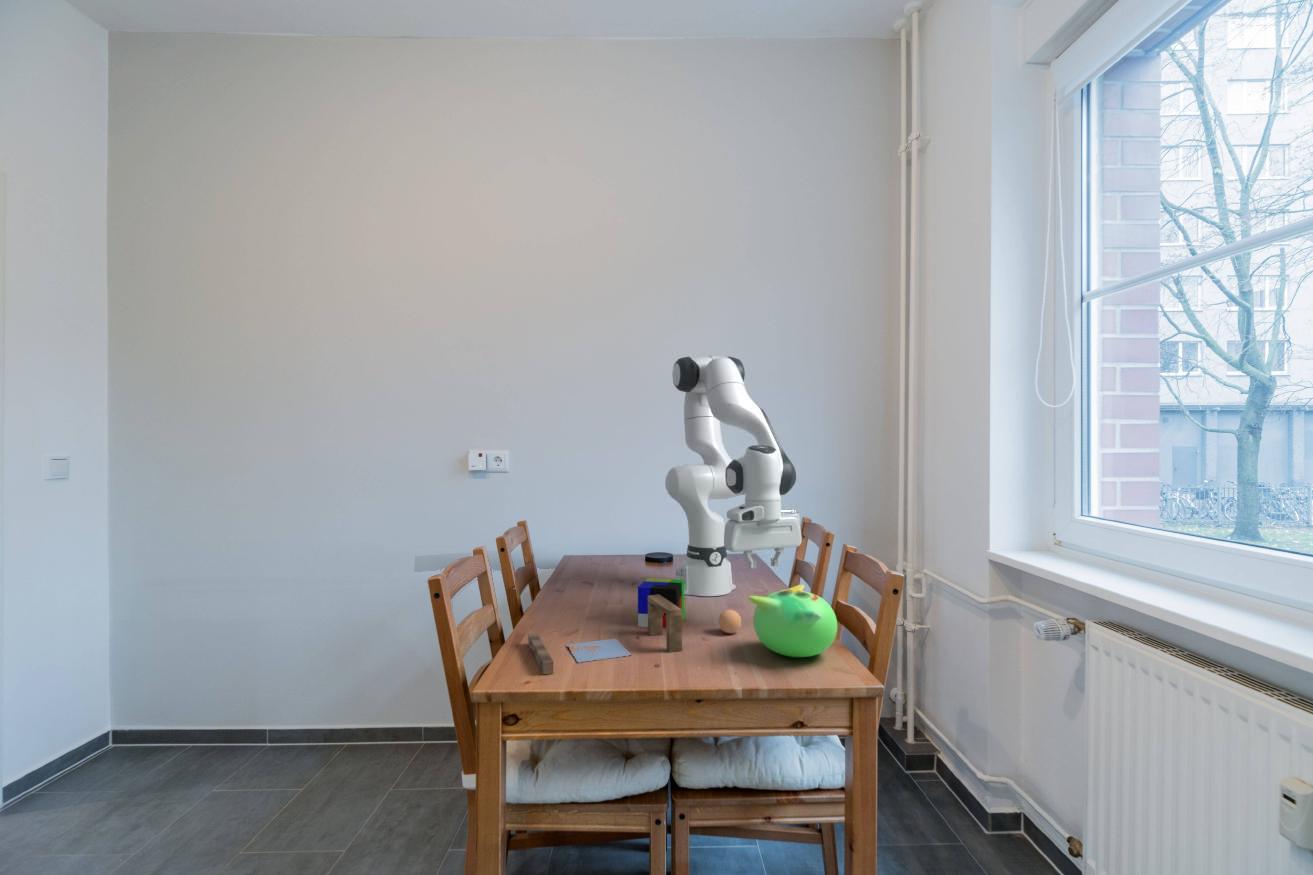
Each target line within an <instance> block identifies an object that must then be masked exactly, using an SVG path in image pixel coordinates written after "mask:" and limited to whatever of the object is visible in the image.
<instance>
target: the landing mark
mask: <svg viewBox="0 0 1313 875" xmlns="http://www.w3.org/2000/svg"><path fill="white" fill-rule="evenodd" d="M566 645H567V646H568V645H569V646H576V647H577V646H579V647H580V648H579V647H577V648H579V650H577V651H576V650H574V651H576V652H574V651H573V650H571V651H573V653H572V652H570V654H571V653H572V654H573V655H572V654H571V655H572V657H573V656H574V657H575V658H574V657H573V658H574V660H575V659H576V660H575V661H576V662H578V663H577V664H581V663H580V662H583V663H587V662H586V661H590V662H594V661H593V660H597V661H602V660H601V659H604V660H609V659H608V658H611V659H616V657H619V658H624V657H623V656H626V657H630V656H629V655H632V654H631V652H630V651H629V650H628V649H627V648H626V647H625V646H624V645H623V644H622V643H621V642H620V641H619V640H618V639H617V638H610V639H609V638H608V639H602V640H595V641H594V640H593V641H586V642H579V643H570V644H566ZM567 646H566V647H567ZM583 646H587V647H588V646H597V647H598V646H600V647H598V648H599V649H598V648H597V649H596V650H595V649H592V648H590V649H592V650H590V649H589V650H588V648H587V649H586V648H584V647H583ZM582 647H583V648H582ZM601 647H602V648H601ZM577 648H576V649H577ZM581 648H582V649H581ZM593 650H595V651H593ZM578 651H579V652H578ZM587 651H588V652H587ZM590 651H591V652H590ZM589 652H590V653H589ZM592 652H593V653H592ZM574 653H575V654H574ZM586 653H587V654H586ZM592 654H593V655H592ZM589 655H590V656H589Z"/></svg>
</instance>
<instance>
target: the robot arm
mask: <svg viewBox="0 0 1313 875" xmlns="http://www.w3.org/2000/svg"><path fill="white" fill-rule="evenodd" d="M745 373H746V372H745V366H744V364H743V361H742V360H741V359H739V358H736V357H732V356H720V355H706V356H705V355H704V356H702V355H701V356H684V357H680V358H678V359H677V360H676V361H675V363H674V364H673V367H672V374H671V375H672V382H673V385H674V387H675V388H676V389H677V390H678V391H680V392H683V393H685V394H684V401H683V402H684V404H683V417H684V418H683V421H684V423H683V424H684V436H685V439H684V440H685V444H686V445H687V447H688V448H689V449H690V450H691V451H692V452H694V453H697V454H698V455H699V456H700V457H701V459H702V460H703V463H700V464H699V463H698V464H695V463H693V464H682V465H677V466H675V467H671V468H670V469H669V471H668V472H667V474H666V476H665V482H664V483H665V484H664V485H665V489H666V492H667V494H668V495H669V496H670V497H671V498H672V499H673V500H674V501H676V502H677V503H678V505H680V507H681V508H682V509H683V512H684V514H685V516H686V519H687V525H688V526H687V527H688V529H687V530H688V544H687V545H686V546H687V548H686V555H685V556H686V557H685V558H684V559H683V561H681V562H680V564H679V565H678V568H676V569H675V576H676V577H678V578H676V579H675V578H674V579H675V580H684V595H690V596H699V597H717V596H718V597H719V596H724V595H728V594H730V593H731V592H732V591H733V590H735V589H737V586H736V584H734V583H733V578H732V577H733V575H732V564H731V562H730V561H729V560H728V559H727V556H728V551H729V552H731V553H735V552H736V553H737V552H743V555H744V558H745V559H746V560H747V568H748V569H750V570H751V569H757V561H756V560H754V559H753V557H752V556H753V551H759V550H760V551H761V550H762V551H763V550H772V549H774V552H775V554H774V556H773V557H771V558H770V566H772V567H779V566H780V563H781V562H780V560H781V558H782V556H783V554H784V549H785V548H794V547H796V548H797V547H800V545H801V543H802V540H803V538H802V531H801V524H800V522H801V517H800V516H801V515H800V513H799V512H798V511H796V510H795V509H782V497H781V496H785V495H786V494H788V493H789V492H790V491H791V490H792V489H793V487H794V486H795V484H796V481H797V471H796V468H795V466H794V464H793V462H792V461H791V460H790V458H789V457H788V456H787V454H786V453H785V451H784V448H783V446H782V444H781V442H780V440H779V438H778V435H777V434H776V431H775V430H774V427H773V425H772V423H771V422H770V419H769V418H768V416H767V414H766V412H765V411H764V409H762V407H760V406H758V405H757V404H756V403H755V402H754V400H753V399H752V398H751V397H750V396H749V393H748V392H747V389H746V386H745V383H744V381H745V376H746V374H745ZM721 423H722V424H725V425H727V426H731V427H734V428H738V429H739V430H743V431H745V432H747V433H749V434H750V435H752V436H753V437H754V438H755V440H756V441H757V444H756V445H750V446H748V447H747V448H746V450H745V453H744V454H743V455H742V456H740V457H738V458H736V459H734V458H733V459H732V458H731V457H730V455H729V453H728V451H727V449H726V447H725V445H724V443H723V436H722V431H721ZM743 495H744V496H745V497H744V503H742V504H740V505H738V506H735V507H733V508H731V509H729V510H727V511H726V518H727V519H729V520H727V522H726V521H725V519H724V517H723V516H721V514H719V513H717V512H715V511H714V510H711V509H710V507H709V505H708V501H709V500H711V501H712V500H727V499H731V498H735V497H737V496H743Z"/></svg>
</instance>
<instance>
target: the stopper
mask: <svg viewBox="0 0 1313 875" xmlns="http://www.w3.org/2000/svg"><path fill="white" fill-rule="evenodd" d="M527 635H528V636H527V638H528V639H527V640H528V643H529V645H530V647H531V649H532V651H533V653H534V655H533V657H534V656H535V657H534V659H535V658H536V659H535V661H536V660H537V661H536V663H537V662H538V663H537V665H538V664H539V665H538V667H539V666H540V667H539V669H540V668H541V669H540V671H541V670H542V671H541V673H542V672H543V673H542V675H543V674H549V675H551V674H550V673H553V674H554V660H553V659H552V657H551V655H550V653H549V652H548V650H547V648H546V646H545V645H544V643H543V641H542V640H541V638H540V636H539V635H538V633H537V632H535V633H534V632H533V633H527ZM528 643H527V644H528ZM529 645H528V646H529ZM530 647H529V648H530ZM531 649H530V650H531ZM532 651H531V652H532ZM533 653H532V654H533Z"/></svg>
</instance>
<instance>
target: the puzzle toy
mask: <svg viewBox="0 0 1313 875" xmlns="http://www.w3.org/2000/svg"><path fill="white" fill-rule="evenodd" d="M649 595H661V596H662V597H664V598H665V599H667V600H668V601H670V602H671V603H673V604H674V605H676V606H677V607H679V608H680V609H682V622H683V621H684V619H685V616H686V614H685V613H686V609H685V608H686V606H685V604H686V603H685V600H686V599H685V594H684V580H675V578H674V579H671V578H668V579H667V578H646V579H645V580H644V581H643V582H642V583H640V585H638V586H637V627H639V626H641V627H642V628H643V627H644V628H648V596H649ZM662 626H663V629H666V614H665V613H664V612H663V611H662Z"/></svg>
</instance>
